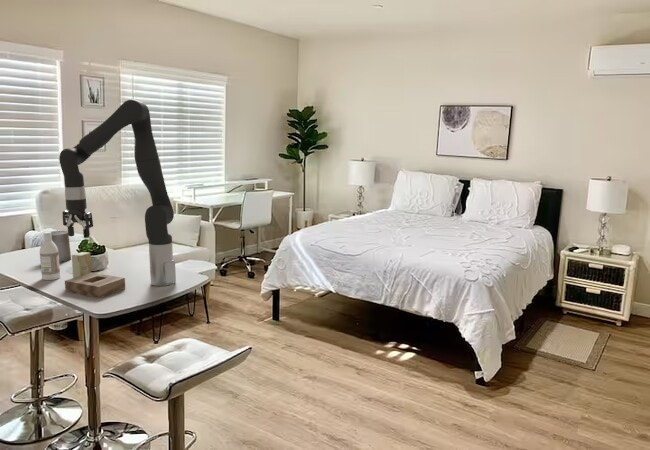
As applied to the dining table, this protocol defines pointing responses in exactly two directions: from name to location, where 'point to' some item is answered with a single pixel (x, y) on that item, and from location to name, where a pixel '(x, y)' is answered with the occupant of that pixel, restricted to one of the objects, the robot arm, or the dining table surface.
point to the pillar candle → (62, 244)
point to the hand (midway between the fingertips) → (79, 236)
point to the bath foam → (49, 258)
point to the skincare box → (81, 264)
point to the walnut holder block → (95, 285)
